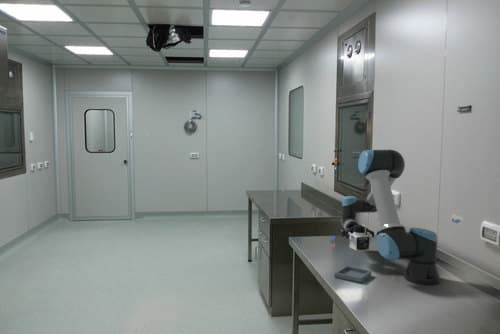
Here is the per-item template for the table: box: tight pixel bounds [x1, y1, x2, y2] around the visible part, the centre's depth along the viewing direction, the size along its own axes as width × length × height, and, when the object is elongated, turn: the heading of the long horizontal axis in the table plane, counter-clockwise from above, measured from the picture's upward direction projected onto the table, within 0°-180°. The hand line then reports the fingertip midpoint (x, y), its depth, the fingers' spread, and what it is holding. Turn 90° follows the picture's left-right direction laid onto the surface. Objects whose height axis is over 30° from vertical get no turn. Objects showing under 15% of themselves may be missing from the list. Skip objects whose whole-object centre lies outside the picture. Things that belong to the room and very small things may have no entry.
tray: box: [334, 265, 372, 285], centre depth 191 cm, size 13×13×2 cm
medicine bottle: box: [349, 224, 370, 252], centre depth 205 cm, size 7×7×12 cm
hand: (361, 238), depth 200 cm, fingers closed on medicine bottle, 9 cm apart
